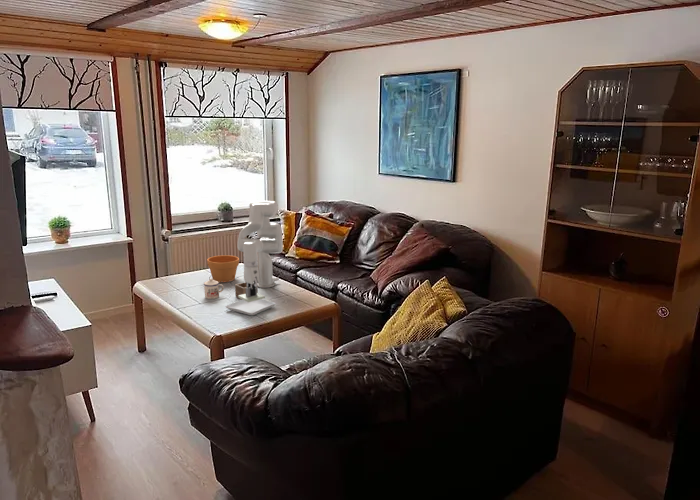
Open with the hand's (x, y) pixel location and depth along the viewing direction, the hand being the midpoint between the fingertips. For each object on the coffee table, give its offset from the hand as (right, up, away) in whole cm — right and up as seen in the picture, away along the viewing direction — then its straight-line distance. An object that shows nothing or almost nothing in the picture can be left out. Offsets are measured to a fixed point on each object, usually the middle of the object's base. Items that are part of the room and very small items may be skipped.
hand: (251, 294), depth 310 cm
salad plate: (-1, -10, +6) cm, 11 cm away
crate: (-8, -4, +26) cm, 28 cm away
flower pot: (-30, +5, +62) cm, 69 cm away
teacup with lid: (-28, -4, +27) cm, 39 cm away
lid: (0, -2, 0) cm, 2 cm away
